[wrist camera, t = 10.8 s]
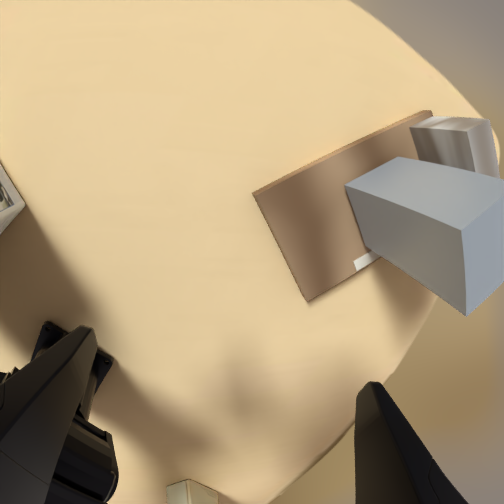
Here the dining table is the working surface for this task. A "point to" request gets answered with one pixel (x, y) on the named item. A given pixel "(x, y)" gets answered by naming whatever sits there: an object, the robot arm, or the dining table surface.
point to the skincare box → (190, 493)
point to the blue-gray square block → (435, 226)
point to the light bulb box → (8, 201)
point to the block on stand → (338, 203)
